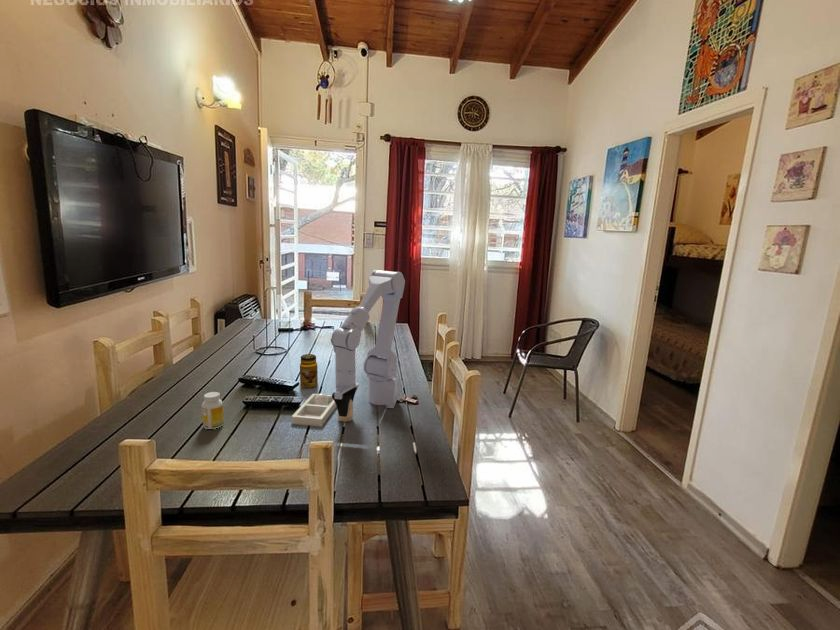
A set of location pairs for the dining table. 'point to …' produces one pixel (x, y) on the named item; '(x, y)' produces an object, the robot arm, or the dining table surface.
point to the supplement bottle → (212, 411)
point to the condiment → (308, 371)
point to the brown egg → (349, 414)
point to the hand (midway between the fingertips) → (345, 412)
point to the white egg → (321, 399)
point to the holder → (313, 412)
